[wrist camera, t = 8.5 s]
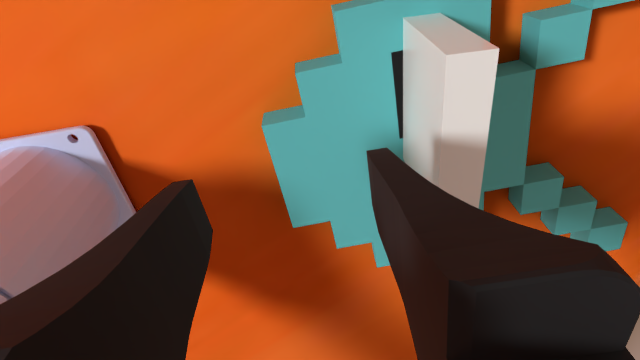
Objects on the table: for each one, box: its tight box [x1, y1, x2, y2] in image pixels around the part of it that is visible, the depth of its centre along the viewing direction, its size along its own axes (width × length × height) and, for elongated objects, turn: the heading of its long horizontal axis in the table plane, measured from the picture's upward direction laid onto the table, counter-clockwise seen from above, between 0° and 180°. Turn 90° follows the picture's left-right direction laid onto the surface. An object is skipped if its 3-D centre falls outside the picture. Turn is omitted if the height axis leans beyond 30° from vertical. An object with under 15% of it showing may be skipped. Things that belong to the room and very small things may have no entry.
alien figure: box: [262, 0, 633, 267], centre depth 21 cm, size 20×2×20 cm
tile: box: [403, 13, 499, 209], centre depth 16 cm, size 2×7×6 cm, turn 6°
